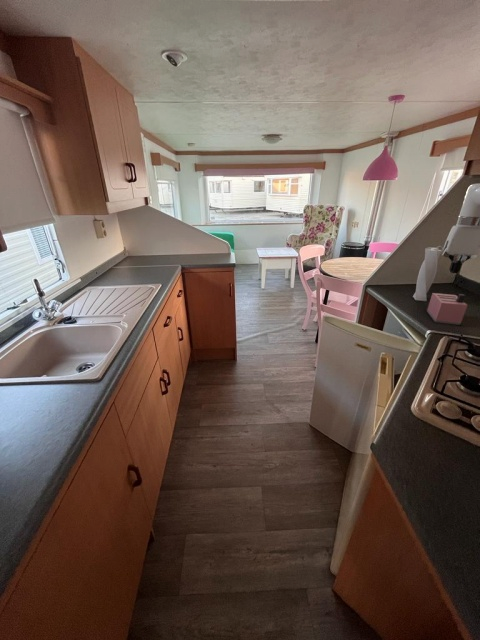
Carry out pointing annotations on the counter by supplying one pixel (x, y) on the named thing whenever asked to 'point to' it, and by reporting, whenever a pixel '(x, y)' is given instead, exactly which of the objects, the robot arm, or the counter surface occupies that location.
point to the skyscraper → (427, 273)
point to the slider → (460, 298)
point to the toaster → (446, 309)
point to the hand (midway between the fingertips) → (453, 272)
